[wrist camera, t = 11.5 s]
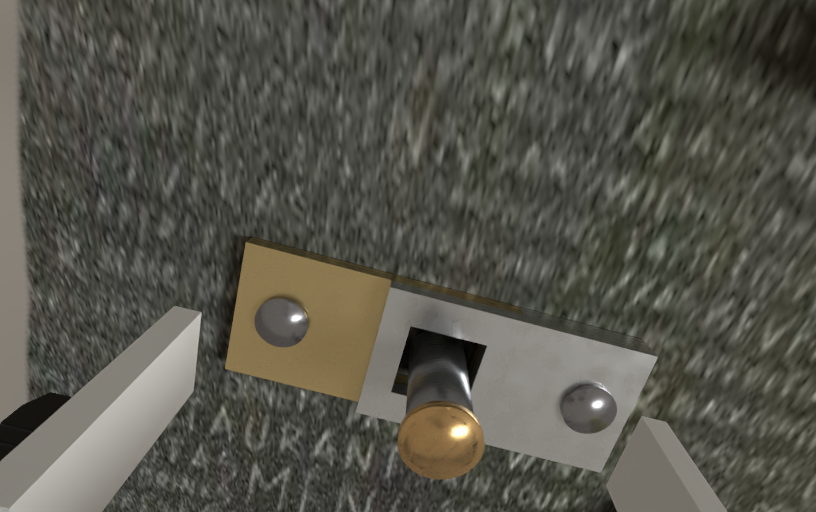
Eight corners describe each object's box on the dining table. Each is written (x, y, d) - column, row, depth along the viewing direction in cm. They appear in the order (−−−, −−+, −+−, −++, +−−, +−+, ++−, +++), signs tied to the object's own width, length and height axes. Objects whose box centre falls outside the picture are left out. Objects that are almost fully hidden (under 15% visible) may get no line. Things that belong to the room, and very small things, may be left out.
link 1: (252, 236, 40) (243, 244, 38) (520, 307, 41) (525, 317, 39) (231, 359, 44) (222, 372, 42) (477, 420, 45) (479, 436, 43)
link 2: (392, 273, 40) (389, 290, 37) (642, 339, 42) (661, 360, 38) (360, 391, 44) (354, 416, 41) (589, 448, 45) (603, 477, 42)
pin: (414, 315, 42) (410, 398, 30) (476, 331, 42) (495, 420, 30) (398, 370, 43) (388, 468, 32) (458, 385, 44) (469, 487, 32)
